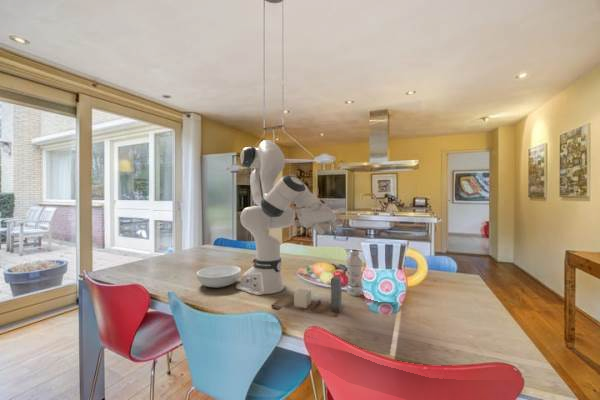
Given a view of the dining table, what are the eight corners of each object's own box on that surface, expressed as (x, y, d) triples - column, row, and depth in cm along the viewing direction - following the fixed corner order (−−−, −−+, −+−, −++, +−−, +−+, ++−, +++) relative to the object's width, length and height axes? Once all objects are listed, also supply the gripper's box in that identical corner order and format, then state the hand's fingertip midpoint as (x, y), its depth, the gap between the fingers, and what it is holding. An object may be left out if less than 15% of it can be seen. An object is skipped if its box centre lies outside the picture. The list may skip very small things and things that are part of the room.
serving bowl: (246, 278, 138) (246, 265, 138) (232, 293, 117) (232, 278, 117) (208, 277, 140) (208, 264, 139) (188, 291, 119) (188, 276, 119)
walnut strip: (271, 307, 101) (271, 273, 101) (283, 298, 110) (283, 267, 110) (336, 320, 90) (336, 282, 90) (343, 309, 100) (343, 274, 99)
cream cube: (294, 305, 100) (294, 292, 100) (299, 301, 104) (299, 288, 104) (306, 308, 98) (306, 294, 98) (310, 303, 102) (310, 290, 102)
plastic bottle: (351, 300, 109) (351, 252, 108) (344, 294, 115) (344, 249, 115) (365, 298, 110) (365, 251, 110) (357, 292, 117) (357, 248, 117)
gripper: (297, 201, 98) (319, 229, 92) (327, 200, 114) (347, 224, 108) (288, 213, 100) (309, 241, 94) (318, 210, 116) (337, 234, 111)
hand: (329, 232), depth 101 cm, fingers open, 8 cm apart
